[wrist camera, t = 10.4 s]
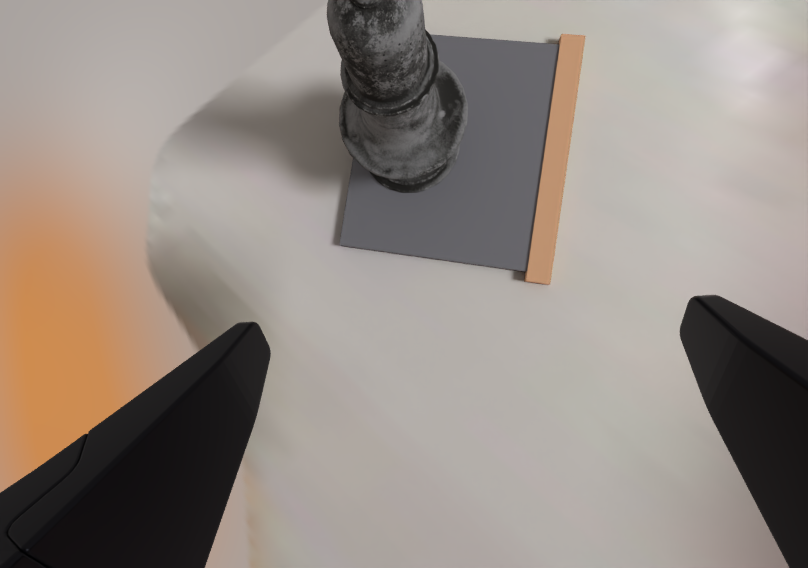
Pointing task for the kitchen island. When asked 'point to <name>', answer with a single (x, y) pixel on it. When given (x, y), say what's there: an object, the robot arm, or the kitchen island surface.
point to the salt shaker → (396, 94)
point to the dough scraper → (486, 164)
